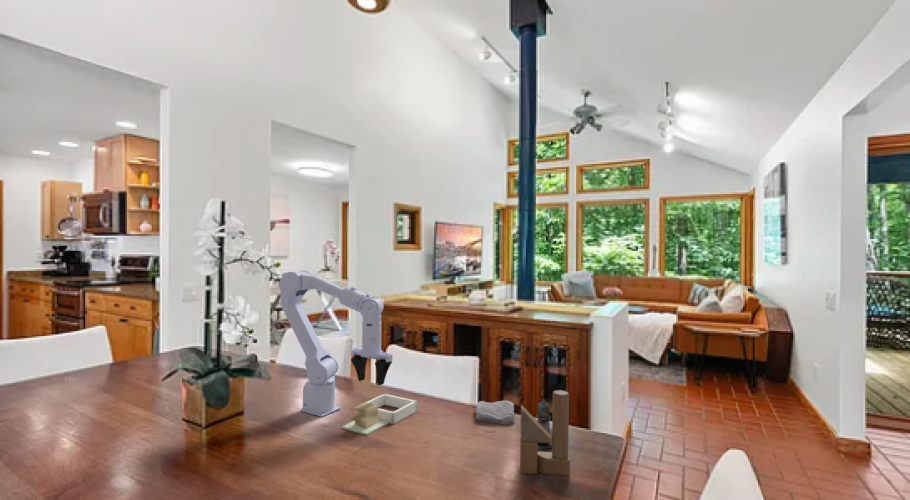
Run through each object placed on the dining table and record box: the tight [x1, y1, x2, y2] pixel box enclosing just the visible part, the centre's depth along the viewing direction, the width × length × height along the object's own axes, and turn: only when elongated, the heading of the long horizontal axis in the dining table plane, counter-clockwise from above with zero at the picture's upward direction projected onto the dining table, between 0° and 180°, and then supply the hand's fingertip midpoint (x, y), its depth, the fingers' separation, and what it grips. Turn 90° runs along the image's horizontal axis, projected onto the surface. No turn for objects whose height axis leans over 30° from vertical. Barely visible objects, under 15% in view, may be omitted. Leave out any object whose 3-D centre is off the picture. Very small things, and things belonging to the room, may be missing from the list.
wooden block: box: [519, 389, 571, 477], centre depth 96 cm, size 4×11×18 cm, turn 85°
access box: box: [359, 393, 418, 425], centre depth 129 cm, size 13×12×3 cm
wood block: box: [354, 401, 379, 428], centre depth 119 cm, size 4×4×5 cm
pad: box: [341, 419, 389, 436], centre depth 119 cm, size 9×9×1 cm
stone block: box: [475, 400, 516, 425], centre depth 126 cm, size 12×5×10 cm
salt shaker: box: [536, 398, 552, 451], centre depth 108 cm, size 6×6×12 cm
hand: (371, 382), depth 129 cm, fingers open, 7 cm apart
